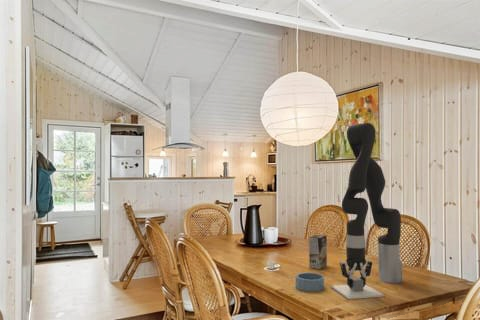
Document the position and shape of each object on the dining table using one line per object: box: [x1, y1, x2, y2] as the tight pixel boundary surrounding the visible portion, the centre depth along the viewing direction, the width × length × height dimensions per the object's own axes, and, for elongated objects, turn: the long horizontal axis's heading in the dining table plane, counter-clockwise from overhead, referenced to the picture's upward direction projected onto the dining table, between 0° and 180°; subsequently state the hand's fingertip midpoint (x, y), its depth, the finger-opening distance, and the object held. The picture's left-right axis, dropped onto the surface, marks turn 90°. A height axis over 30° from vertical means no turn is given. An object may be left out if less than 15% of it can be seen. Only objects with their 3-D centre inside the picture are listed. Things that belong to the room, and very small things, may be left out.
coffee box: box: [308, 234, 328, 270], centre depth 199 cm, size 9×6×16 cm
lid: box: [331, 277, 384, 300], centre depth 155 cm, size 15×15×5 cm
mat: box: [330, 286, 386, 301], centre depth 155 cm, size 16×16×1 cm
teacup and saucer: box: [263, 260, 281, 272], centre depth 196 cm, size 9×8×4 cm
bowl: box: [295, 272, 326, 292], centre depth 163 cm, size 12×12×5 cm
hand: (356, 286), depth 155 cm, fingers open, 5 cm apart
